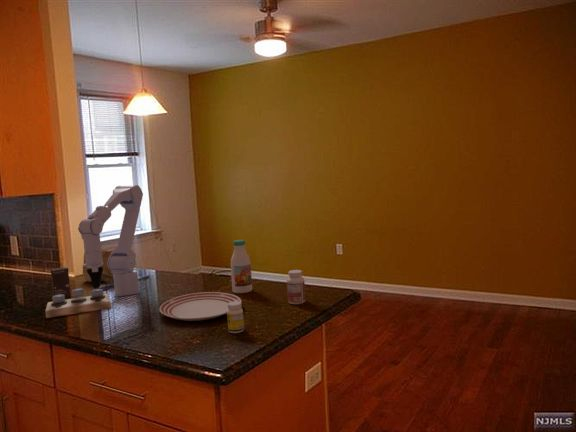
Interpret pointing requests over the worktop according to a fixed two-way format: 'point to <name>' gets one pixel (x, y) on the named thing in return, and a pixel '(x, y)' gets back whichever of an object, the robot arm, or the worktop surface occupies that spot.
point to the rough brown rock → (106, 273)
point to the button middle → (77, 292)
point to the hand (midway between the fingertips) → (96, 287)
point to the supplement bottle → (235, 317)
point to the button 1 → (58, 298)
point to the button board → (77, 305)
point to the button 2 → (97, 292)
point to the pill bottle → (295, 287)
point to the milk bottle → (240, 268)
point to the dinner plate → (198, 306)
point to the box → (60, 281)
